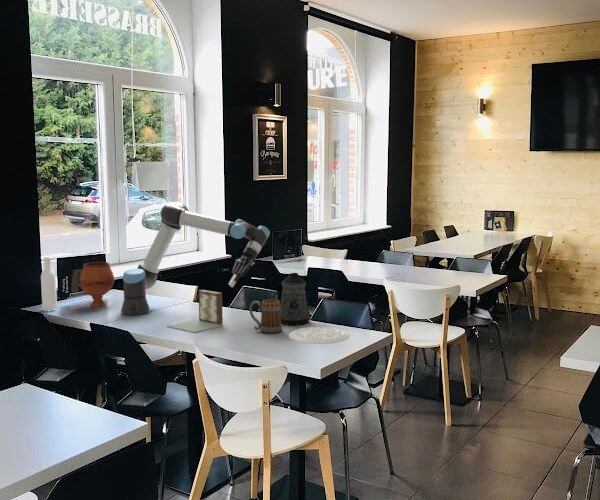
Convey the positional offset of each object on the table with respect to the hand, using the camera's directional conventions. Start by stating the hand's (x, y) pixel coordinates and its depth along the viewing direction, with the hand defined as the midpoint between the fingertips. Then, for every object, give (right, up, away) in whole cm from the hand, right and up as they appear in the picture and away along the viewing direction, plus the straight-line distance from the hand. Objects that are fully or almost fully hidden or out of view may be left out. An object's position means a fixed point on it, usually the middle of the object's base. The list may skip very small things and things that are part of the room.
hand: (230, 285), depth 340 cm
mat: (-16, -19, -18) cm, 31 cm away
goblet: (-80, -14, +34) cm, 88 cm away
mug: (+20, -21, -28) cm, 40 cm away
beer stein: (+33, -18, -8) cm, 38 cm away
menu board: (-9, -18, -9) cm, 22 cm away
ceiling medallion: (+45, -22, -37) cm, 62 cm away
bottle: (-104, -15, +23) cm, 107 cm away
